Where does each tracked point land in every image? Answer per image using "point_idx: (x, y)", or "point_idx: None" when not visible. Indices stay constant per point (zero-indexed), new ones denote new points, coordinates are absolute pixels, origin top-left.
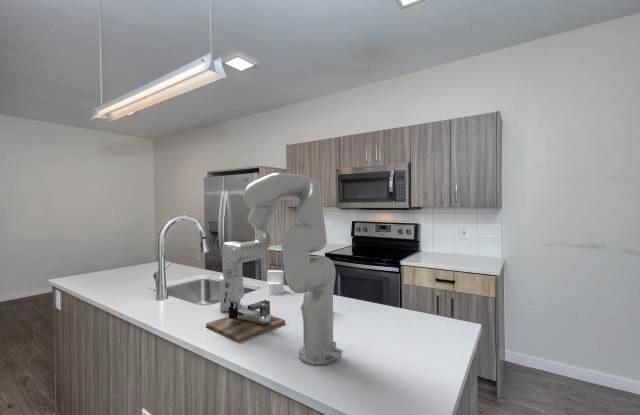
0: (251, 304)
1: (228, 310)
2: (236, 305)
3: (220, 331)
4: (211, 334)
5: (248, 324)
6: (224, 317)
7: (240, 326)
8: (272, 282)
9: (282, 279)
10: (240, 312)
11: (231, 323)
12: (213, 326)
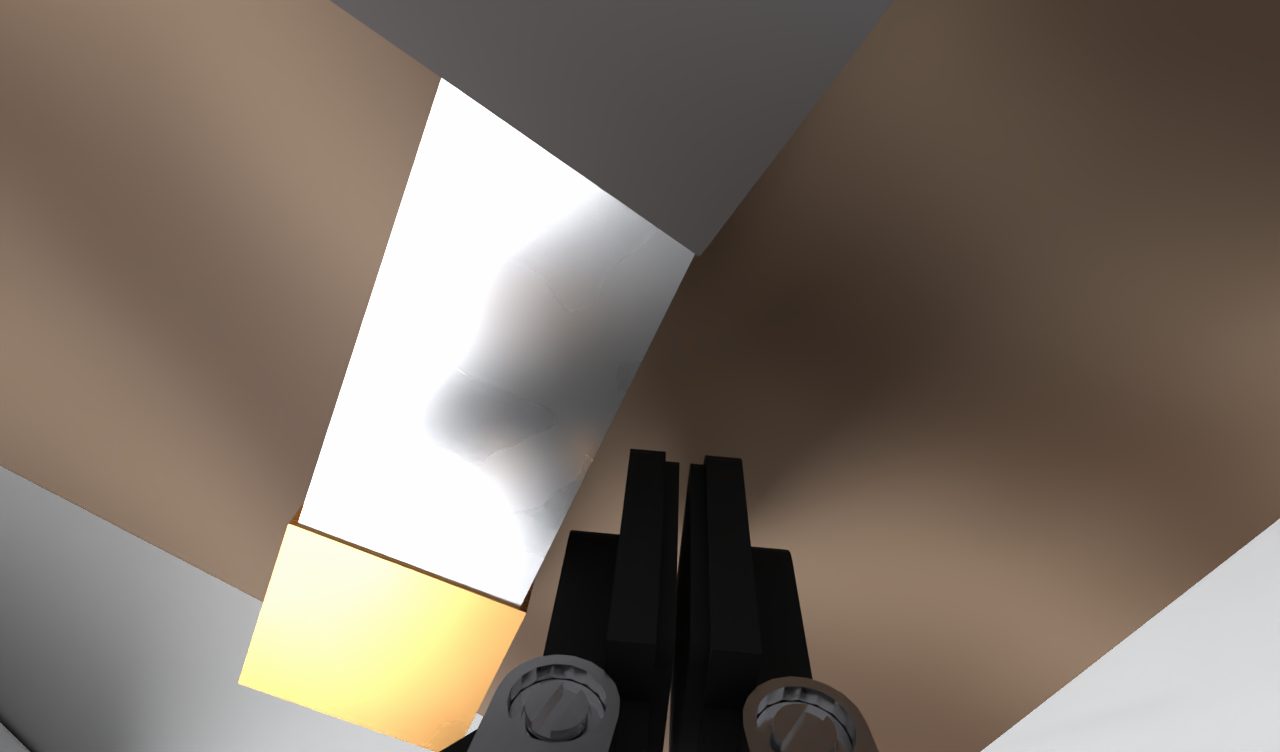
0: (470, 68)
1: (6, 745)
2: (612, 744)
3: (1188, 560)
4: (1130, 661)
5: (905, 14)
6: (479, 710)
7: (1036, 206)
8: None
9: None
10: (595, 446)
11: (818, 483)
12: (966, 747)
